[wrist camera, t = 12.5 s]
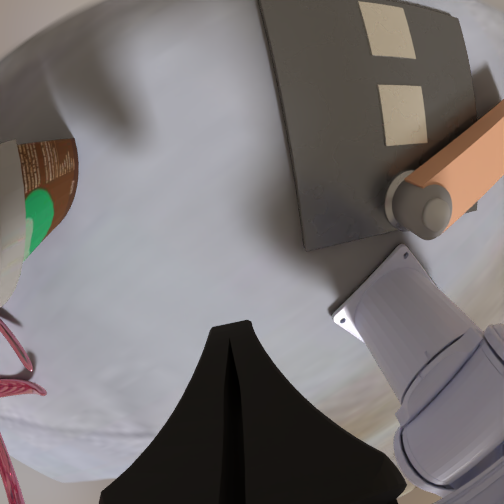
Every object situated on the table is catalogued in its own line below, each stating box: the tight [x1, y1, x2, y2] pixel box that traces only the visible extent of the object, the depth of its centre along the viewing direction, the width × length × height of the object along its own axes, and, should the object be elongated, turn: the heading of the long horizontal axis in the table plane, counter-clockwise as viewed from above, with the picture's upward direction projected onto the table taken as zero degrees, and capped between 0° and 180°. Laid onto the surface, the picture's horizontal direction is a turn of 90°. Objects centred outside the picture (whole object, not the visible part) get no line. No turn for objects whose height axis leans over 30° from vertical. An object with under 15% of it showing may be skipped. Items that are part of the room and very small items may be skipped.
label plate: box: [258, 0, 477, 251], centre depth 16 cm, size 16×17×1 cm
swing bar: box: [392, 99, 504, 240], centre depth 15 cm, size 17×4×3 cm, turn 126°
